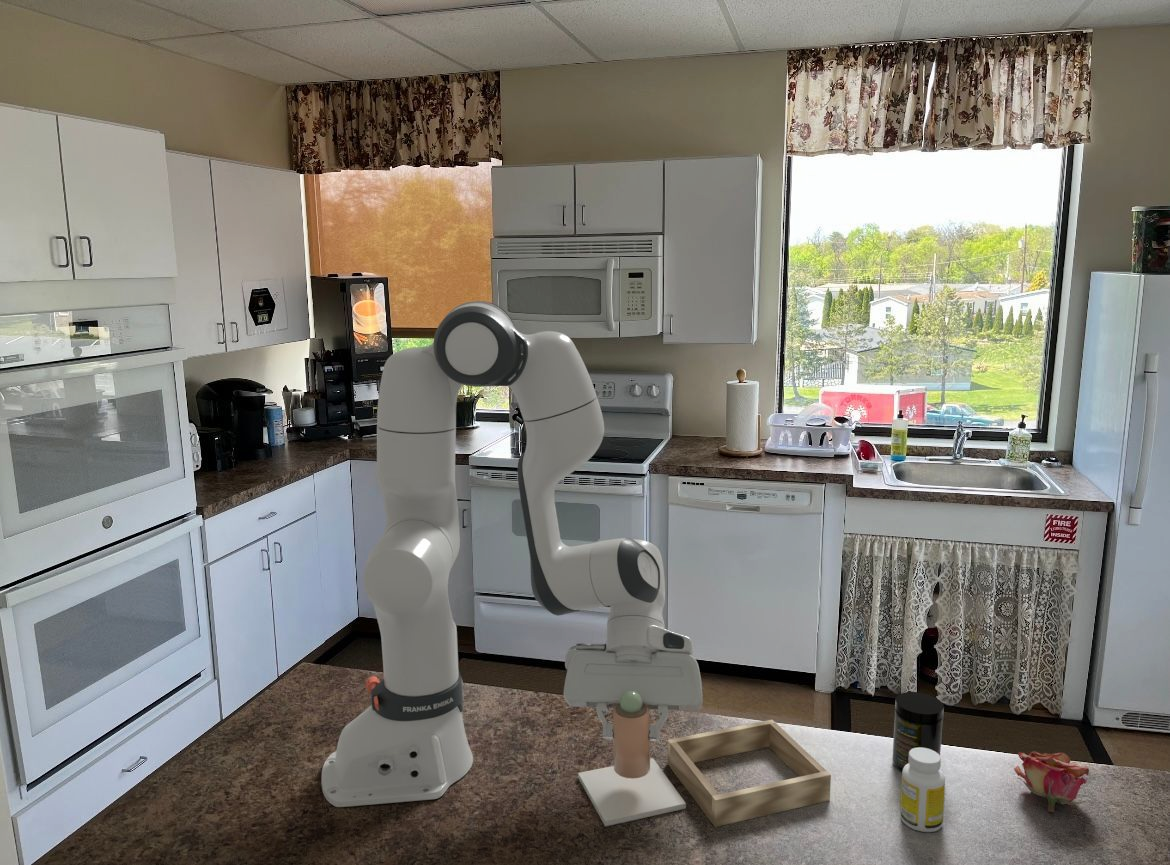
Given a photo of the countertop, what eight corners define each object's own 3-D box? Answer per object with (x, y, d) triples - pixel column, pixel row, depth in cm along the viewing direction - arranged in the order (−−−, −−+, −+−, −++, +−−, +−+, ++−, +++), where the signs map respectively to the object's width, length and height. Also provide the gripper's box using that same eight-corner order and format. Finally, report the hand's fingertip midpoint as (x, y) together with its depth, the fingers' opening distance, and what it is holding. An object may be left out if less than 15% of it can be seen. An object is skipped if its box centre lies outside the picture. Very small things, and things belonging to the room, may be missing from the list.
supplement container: (936, 784, 124) (940, 718, 122) (887, 771, 127) (891, 707, 125) (942, 761, 130) (946, 698, 128) (896, 750, 133) (899, 688, 131)
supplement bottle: (943, 814, 117) (947, 749, 115) (941, 838, 112) (946, 770, 111) (901, 804, 119) (905, 740, 118) (898, 827, 115) (901, 761, 113)
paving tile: (605, 826, 116) (605, 821, 115) (578, 777, 127) (578, 772, 127) (685, 808, 119) (685, 803, 119) (652, 762, 130) (652, 757, 130)
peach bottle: (621, 781, 119) (620, 703, 117) (608, 761, 124) (607, 686, 122) (655, 774, 121) (655, 697, 118) (642, 754, 126) (641, 680, 123)
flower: (1100, 822, 112) (1103, 760, 115) (1027, 802, 114) (1032, 741, 117) (1066, 821, 121) (1069, 763, 124) (999, 802, 123) (1004, 745, 126)
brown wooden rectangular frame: (715, 827, 115) (715, 800, 114) (667, 763, 130) (667, 739, 129) (829, 800, 121) (830, 774, 120) (771, 742, 136) (772, 719, 135)
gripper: (564, 635, 127) (556, 729, 120) (702, 639, 125) (703, 736, 117) (569, 650, 132) (561, 741, 125) (701, 654, 130) (702, 748, 122)
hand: (631, 739), depth 121 cm, fingers closed on peach bottle, 5 cm apart
